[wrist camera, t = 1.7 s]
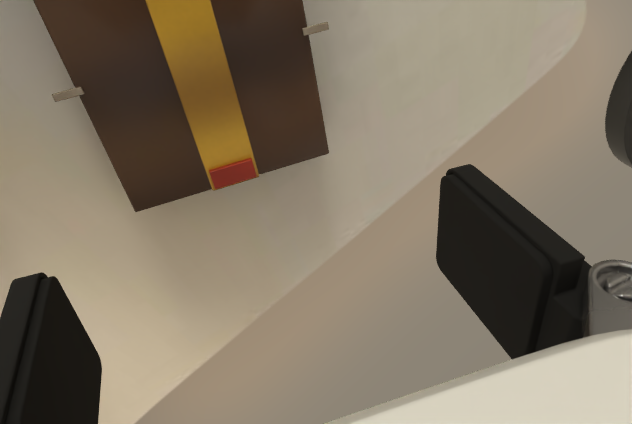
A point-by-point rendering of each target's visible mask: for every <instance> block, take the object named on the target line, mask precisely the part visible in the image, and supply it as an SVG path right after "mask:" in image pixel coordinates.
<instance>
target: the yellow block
mask: <svg viewBox="0 0 632 424" xmlns="http://www.w3.org/2000/svg"><path fill="white" fill-rule="evenodd" d="M145 1H146V4H147V7H148V10H149V12H150V15H151V18H152V21H153V24H154V27H155V29H156V32H157V35H158V38H159V41H160V44H161V46H162V49H163V52H164V55H165V58H166V60H167V63H168V66H169V69H170V72H171V75H172V77H173V80H174V83H175V86H176V89H177V91H178V94H179V97H180V100H181V103H182V106H183V108H184V111H185V114H186V117H187V120H188V123H189V125H190V128H191V131H192V134H193V137H194V139H195V142H196V145H197V148H198V151H199V154H200V156H201V159H202V162H203V165H204V168H205V170H206V173H207V176H208V179H209V182H210V185H211V187H212V190H217V189H221V188H224V187H227V186H230V185H234V184H237V183H240V182H243V181H247V180H250V179H253V178H257V177H259V173H258V169H257V166H256V162H255V159H254V155H253V151H252V148H251V144H250V141H249V137H248V134H247V130H246V126H245V123H244V119H243V116H242V112H241V109H240V105H239V101H238V98H237V94H236V91H235V87H234V84H233V80H232V76H231V73H230V69H229V66H228V62H227V59H226V55H225V51H224V48H223V44H222V41H221V37H220V34H219V30H218V26H217V23H216V19H215V16H214V12H213V9H212V5H211V1H210V0H145Z"/></svg>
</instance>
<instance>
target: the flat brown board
mask: <svg viewBox="0 0 632 424" xmlns="http://www.w3.org/2000/svg"><path fill="white" fill-rule="evenodd" d="M33 1H34V3H35V5H36V7H37V9H38V11H39V13H40V15H41V17H42V19H43V22H44V24H45V26H46V28H47V30H48V32H49V34H50V36H51V38H52V40H53V42H54V44H55V46H56V48H57V51H58V53H59V55H60V57H61V59H62V61H63V63H64V65H65V67H66V69H67V71H68V73H69V75H70V77H71V80H72V82H73V84H74V86H75V88H74V89H70V90H66V91H62V92H58V93H55V94H52V96H53V98H54V100H55V102H57V101H60V100H64V99H68V98H72V97H76V96H80V98H81V100H82V102H83V104H84V107H85V109H86V111H87V113H88V115H89V117H90V119H91V121H92V123H93V125H94V127H95V129H96V131H97V133H98V136H99V138H100V140H101V142H102V144H103V146H104V148H105V150H106V152H107V154H108V156H109V158H110V160H111V162H112V165H113V167H114V169H115V171H116V173H117V175H118V177H119V179H120V181H121V183H122V185H123V187H124V189H125V191H126V194H127V196H128V198H129V200H130V202H131V204H132V206H133V208H134V210H135V212H138V211H141V210H144V209H148V208H151V207H154V206H157V205H161V204H164V203H167V202H171V201H174V200H177V199H180V198H184V197H187V196H190V195H194V194H197V193H200V192H203V191H207V190H210V189H212V187H211V185H210V182H209V179H208V176H207V173H206V170H205V168H204V165H203V162H202V159H201V156H200V154H199V151H198V148H197V145H196V142H195V139H194V137H193V134H192V131H191V128H190V125H189V123H188V120H187V117H186V114H185V111H184V108H183V106H182V103H181V100H180V97H179V94H178V91H177V89H176V86H175V83H174V80H173V77H172V75H171V72H170V69H169V66H168V63H167V60H166V58H165V55H164V52H163V49H162V46H161V44H160V41H159V38H158V35H157V32H156V29H155V27H154V24H153V21H152V18H151V15H150V12H149V10H148V7H147V4H146V1H145V0H33ZM210 1H211V5H212V9H213V12H214V16H215V19H216V23H217V26H218V30H219V34H220V37H221V41H222V44H223V48H224V51H225V55H226V59H227V62H228V66H229V69H230V73H231V76H232V80H233V84H234V87H235V91H236V94H237V98H238V101H239V105H240V109H241V112H242V116H243V119H244V123H245V126H246V130H247V134H248V137H249V141H250V144H251V148H252V151H253V155H254V159H255V162H256V166H257V169H258V173H259V174H263V173H266V172H269V171H272V170H276V169H279V168H282V167H286V166H289V165H292V164H295V163H299V162H302V161H305V160H309V159H312V158H315V157H318V156H322V155H325V154H328V153H329V150H328V144H327V139H326V133H325V127H324V121H323V116H322V110H321V104H320V98H319V93H318V87H317V81H316V76H315V70H314V64H313V58H312V53H311V47H310V41H309V34H313V33H317V32H320V31H324V30H328V29H329V26H328V22H324V23H321V24H317V25H313V26H309V27H307V24H306V18H305V13H304V7H303V1H302V0H210Z"/></svg>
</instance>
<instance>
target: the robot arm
mask: <svg viewBox="0 0 632 424" xmlns="http://www.w3.org/2000/svg"><path fill="white" fill-rule="evenodd" d="M436 259H437V264H438V266H439V268H440V270H441V271H442V273H443V274H444V275H445V276H446V277H447V279H448V280H449V281H450V283H451V284H452V285H453V286H454V288H455V289H456V290H457V291H458V292H459V294H460V295H461V296H462V297H463V299H464V300H465V301H466V302H467V304H468V305H469V306H470V307H471V309H472V310H473V311H474V312H475V314H476V315H477V316H478V317H479V319H480V320H481V321H482V322H483V324H484V325H485V326H486V327H487V329H488V330H489V331H490V332H491V334H492V335H493V336H494V337H495V339H496V340H497V341H498V342H499V344H500V345H501V346H502V347H503V349H504V350H505V351H506V352H507V354H508V355H509V356H510V357H511V359H512V360H509V361H506V362H503V363H500V364H497V365H494V366H491V367H488V368H485V369H482V370H479V371H476V372H473V373H470V374H467V375H464V376H461V377H458V378H455V379H453V380H450V381H447V382H444V383H441V384H438V385H435V386H432V387H429V388H426V389H423V390H420V391H417V392H414V393H411V394H408V395H405V396H403V397H400V398H397V399H394V400H391V401H388V402H385V403H382V404H379V405H377V406H373V407H370V408H367V409H365V410H362V411H359V412H356V413H353V414H350V415H347V416H344V417H341V418H339V419H336V420H333V421H330V422H327V423H324V424H632V262H628V261H623V260H606V261H601V262H599V263H597V264H595V265H593V266H590V265H589V264H588V263H587V262H586V261H584V259H585V257H584V256H583V255H582V254H581V253H580V252H579V251H577V250H576V249H575V248H573V247H572V246H571V245H570V244H569V243H568V242H566V241H565V240H564V239H563V238H561V237H560V236H559V235H558V234H556V233H555V232H554V231H553V230H552V229H550V228H549V227H548V226H547V225H545V224H544V223H543V222H542V221H541V220H539V219H538V218H537V217H536V216H534V215H533V214H532V213H531V212H530V211H528V210H527V209H526V208H525V207H523V206H522V205H521V204H520V203H519V202H517V201H516V200H515V199H514V198H512V197H511V196H510V195H508V193H506V192H505V191H504V190H503V189H501V188H500V187H499V186H498V185H497V184H495V183H494V182H493V181H492V180H490V179H489V178H488V177H486V176H485V175H484V174H483V173H482V172H481V171H479V170H478V169H477V168H476V167H474V166H473V165H471V164H468V165H464V166H460V167H456V168H452V169H449V170H448V171H447V173H446V176H444V177H442V179H441V185H440V201H439V218H438V236H437V251H436ZM101 374H102V366H101V360H100V357H99V355H98V353H97V351H96V349H95V347H94V345H93V343H92V342H91V340H90V338H89V336H88V334H87V332H86V331H85V329H84V327H83V325H82V323H81V321H80V320H79V318H78V316H77V314H76V312H75V310H74V308H73V307H72V305H71V303H70V301H69V299H68V297H67V296H66V294H65V292H64V290H63V288H62V286H61V285H60V283H59V281H58V279H57V278H56V277H54V276H52V277H49V278H48V277H47V275H45V274H44V273H38V274H34V275H30V276H26V277H22V278H18V279H15V280H13V281H12V283H11V286H10V289H9V292H8V295H7V298H6V302H5V305H4V308H3V311H2V314H1V317H0V424H98V415H99V401H100V387H101Z"/></svg>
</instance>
